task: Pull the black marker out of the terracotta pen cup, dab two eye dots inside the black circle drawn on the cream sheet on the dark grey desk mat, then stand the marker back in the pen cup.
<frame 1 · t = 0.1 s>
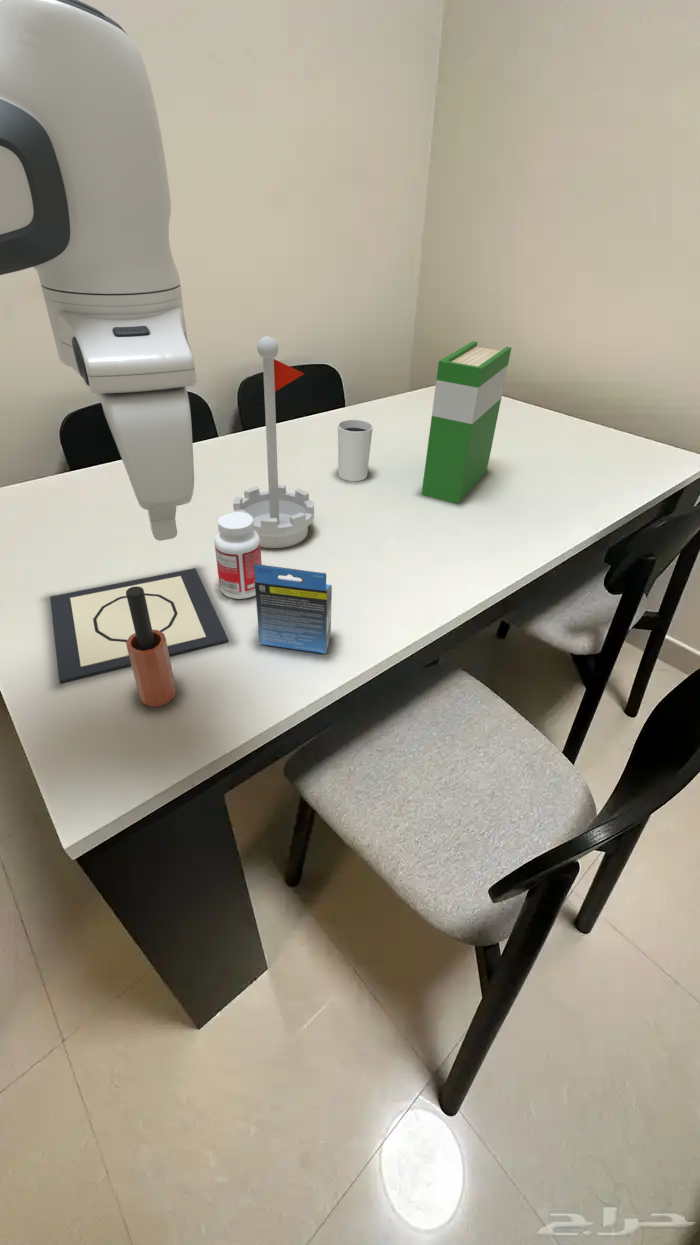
hand: (153, 509, 49), 25 cm above the table, tool pointing down, fingers open, 8 cm apart
hardback book: (455, 483, 116), on the table
marker: (157, 690, 66), resting on pen cup
desk mat: (136, 619, 77), on the table
pen cup: (157, 694, 67), on the table
pill bottle: (241, 589, 84), on the table
flag stand: (275, 532, 98), on the table
white cup: (352, 476, 117), on the table
blue retail box: (295, 641, 75), on the table
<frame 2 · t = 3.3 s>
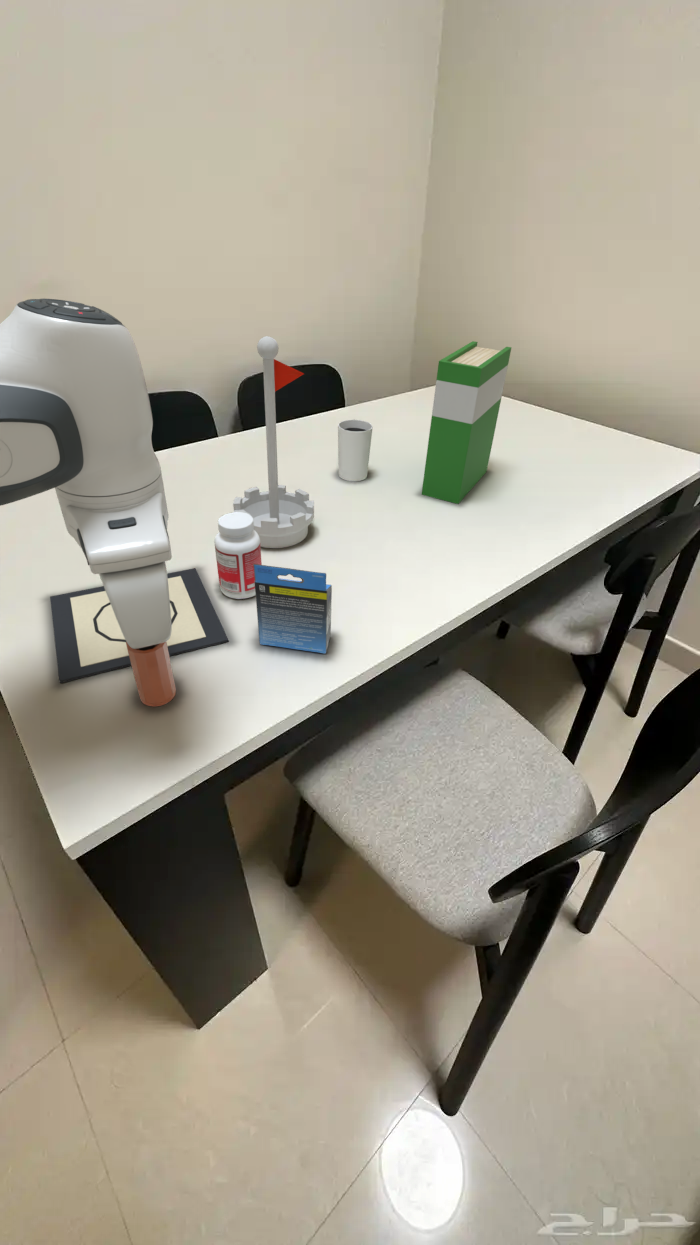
hand: (142, 625, 60), 10 cm above the table, tool pointing down, fingers closed on marker, 2 cm apart
marker: (157, 690, 66), point 1 cm above the table, touching gripper, pen cup
everything else where it was.
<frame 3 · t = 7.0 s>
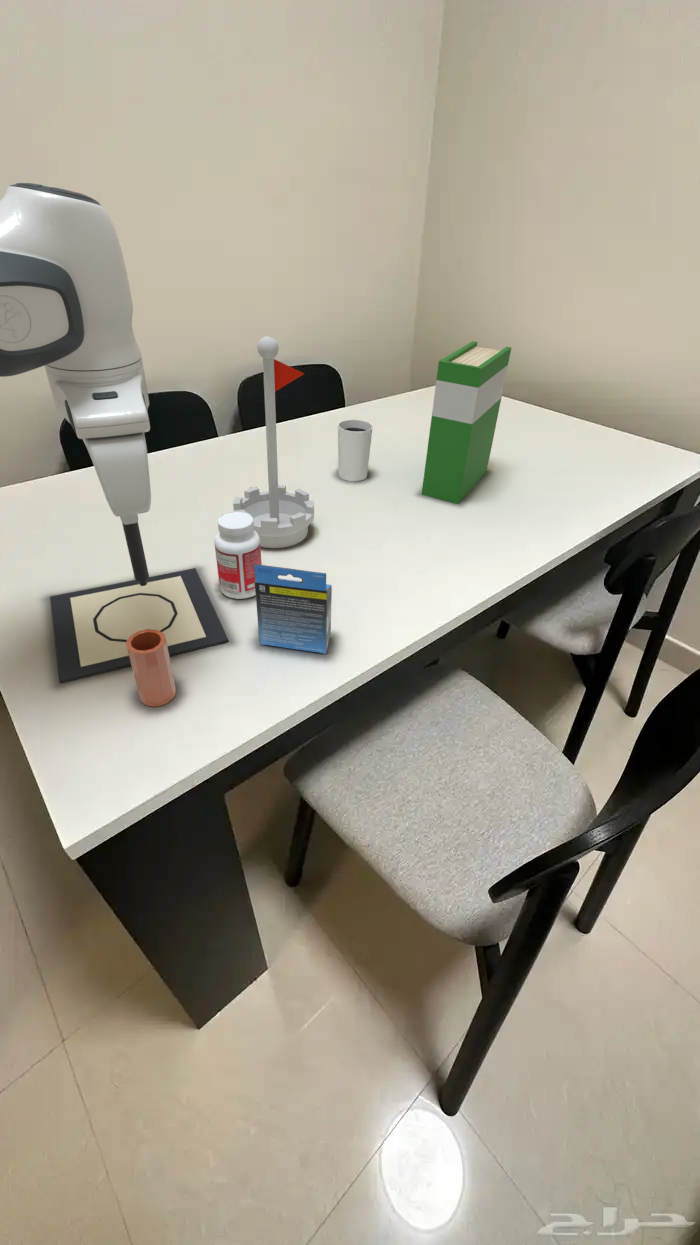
hand: (127, 515, 66), 16 cm above the table, tool pointing down, fingers closed on marker
marker: (143, 584, 72), point 7 cm above the table, touching gripper
everything else where it was.
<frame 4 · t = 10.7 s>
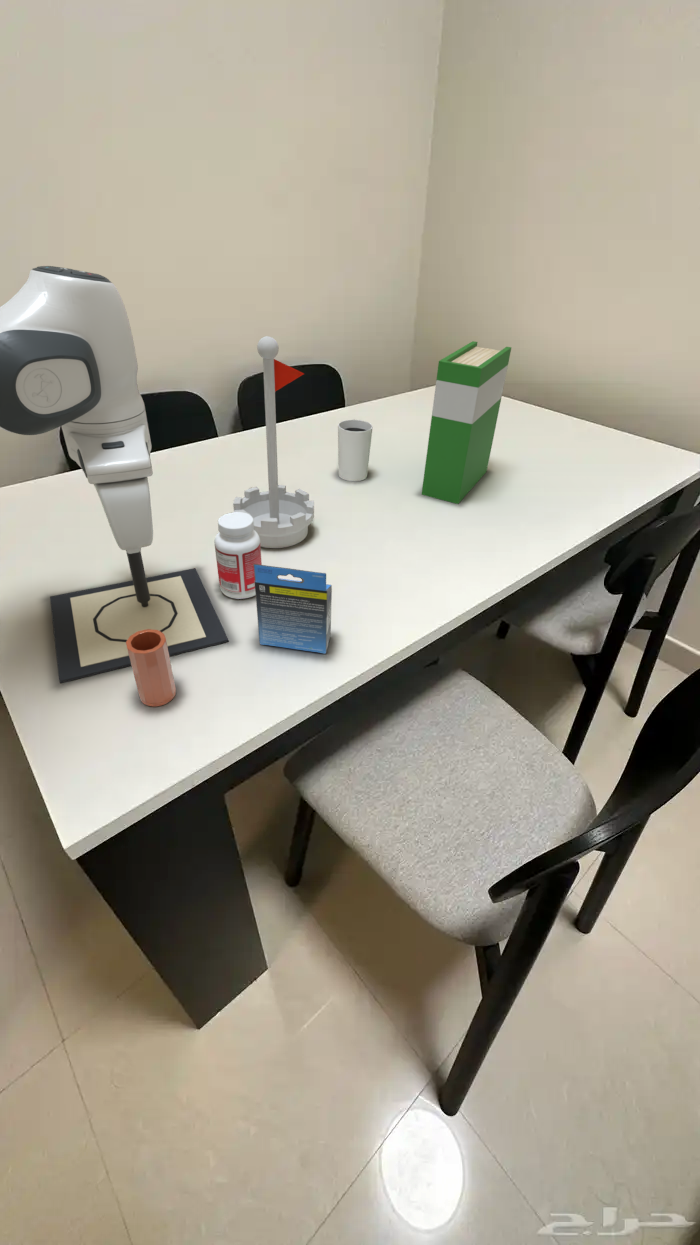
hand: (131, 544, 73), 10 cm above the table, tool pointing down, fingers closed on marker, 2 cm apart
marker: (145, 605, 79), point 1 cm above the table, touching gripper
everything else where it was.
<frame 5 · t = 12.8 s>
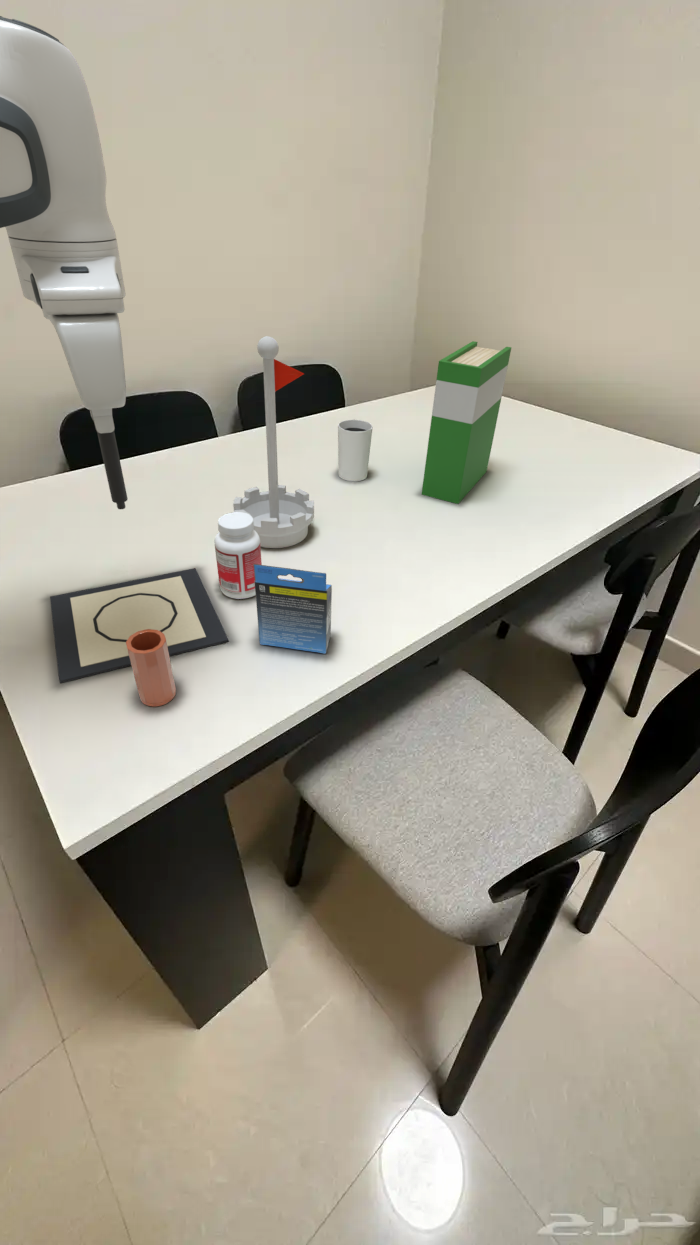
hand: (103, 425, 61), 26 cm above the table, tool pointing down, fingers closed on marker
marker: (121, 507, 67), point 16 cm above the table, touching gripper
everything else where it was.
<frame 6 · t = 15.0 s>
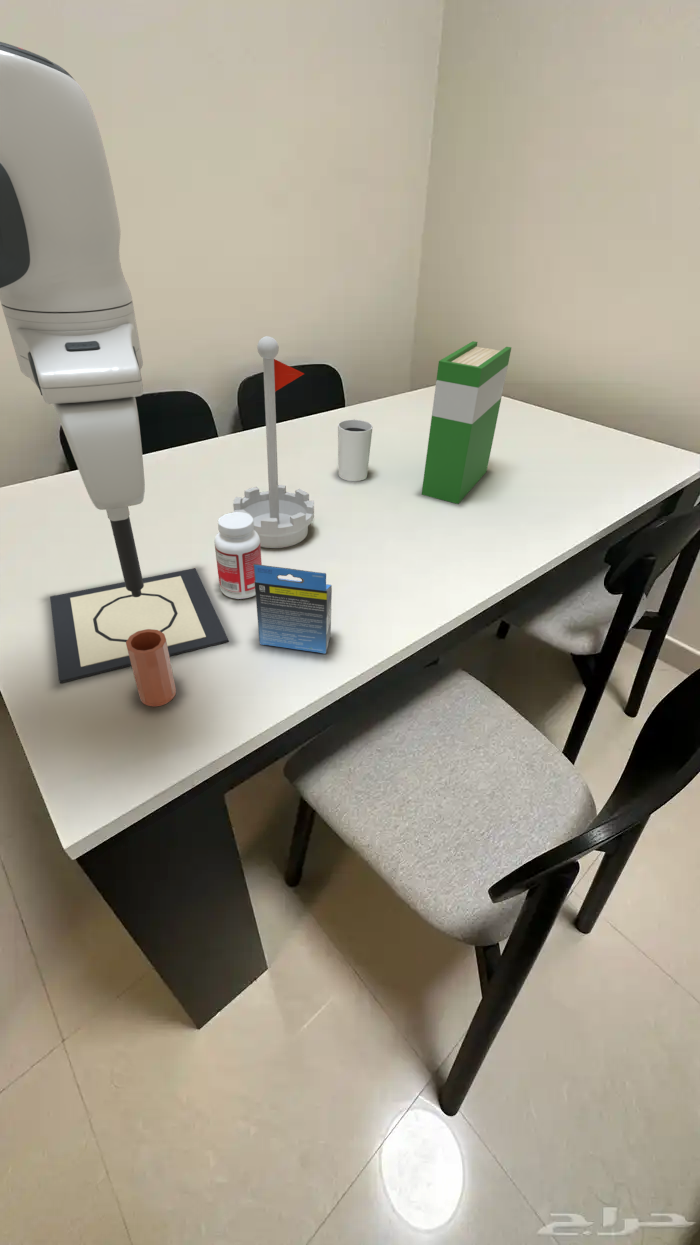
hand: (116, 509, 52), 23 cm above the table, tool pointing down, fingers closed on marker
marker: (136, 595, 58), point 14 cm above the table, touching gripper
everything else where it was.
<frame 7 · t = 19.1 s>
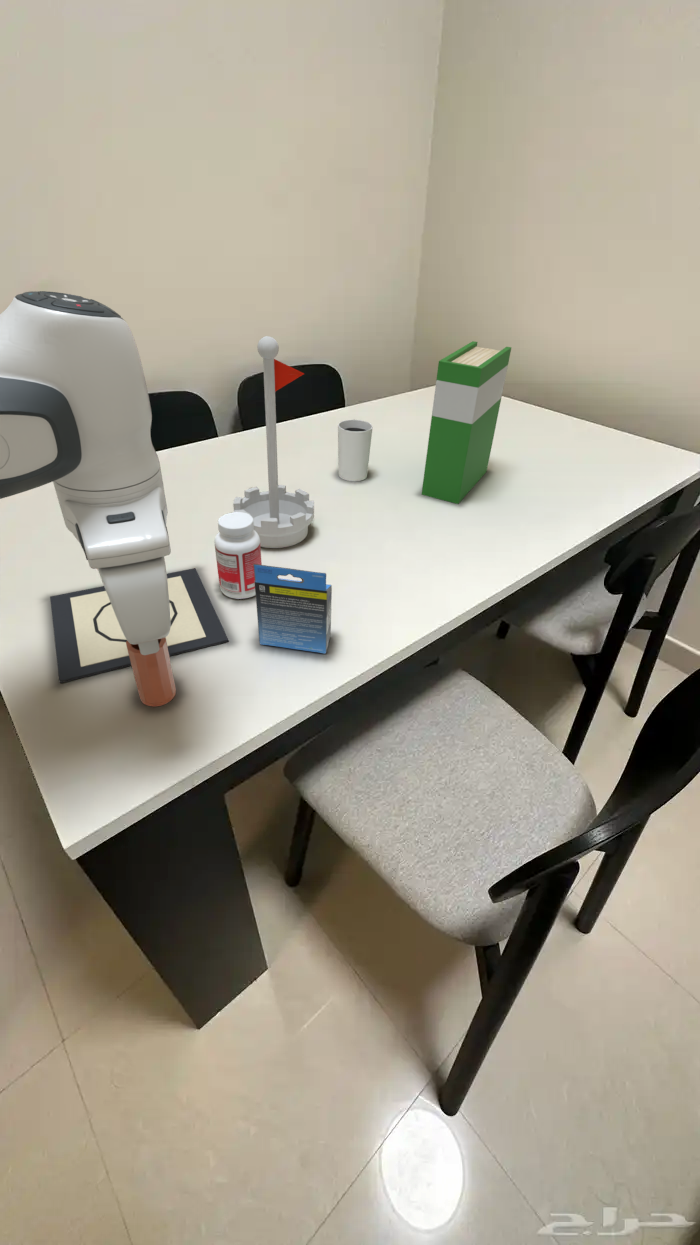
hand: (141, 622, 60), 11 cm above the table, tool pointing down, fingers open, 8 cm apart
marker: (158, 690, 67), resting on pen cup
everything else where it was.
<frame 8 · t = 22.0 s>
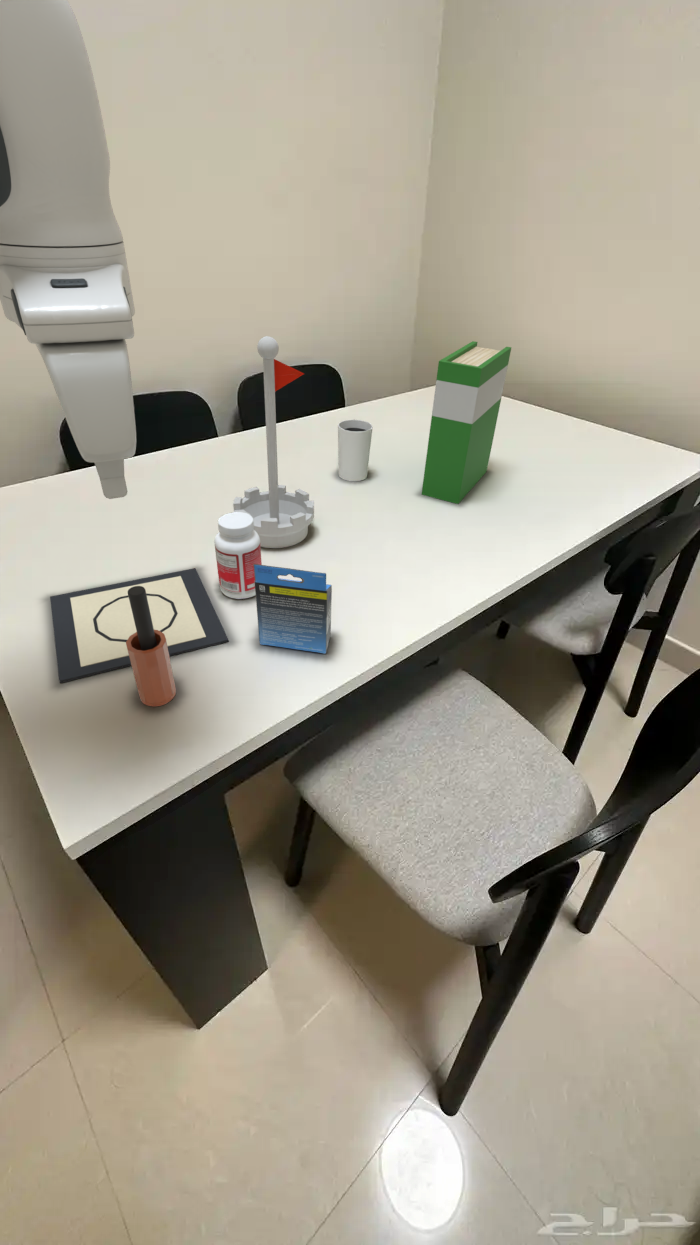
hand: (108, 471, 50), 27 cm above the table, tool pointing down, fingers open, 8 cm apart
nothing on the table moved.
at the end: marker 0.2 cm off-centre in the pen cup, point 0.5 cm above the pen cup's base; marker tilted 0°; the gripper is holding nothing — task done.
